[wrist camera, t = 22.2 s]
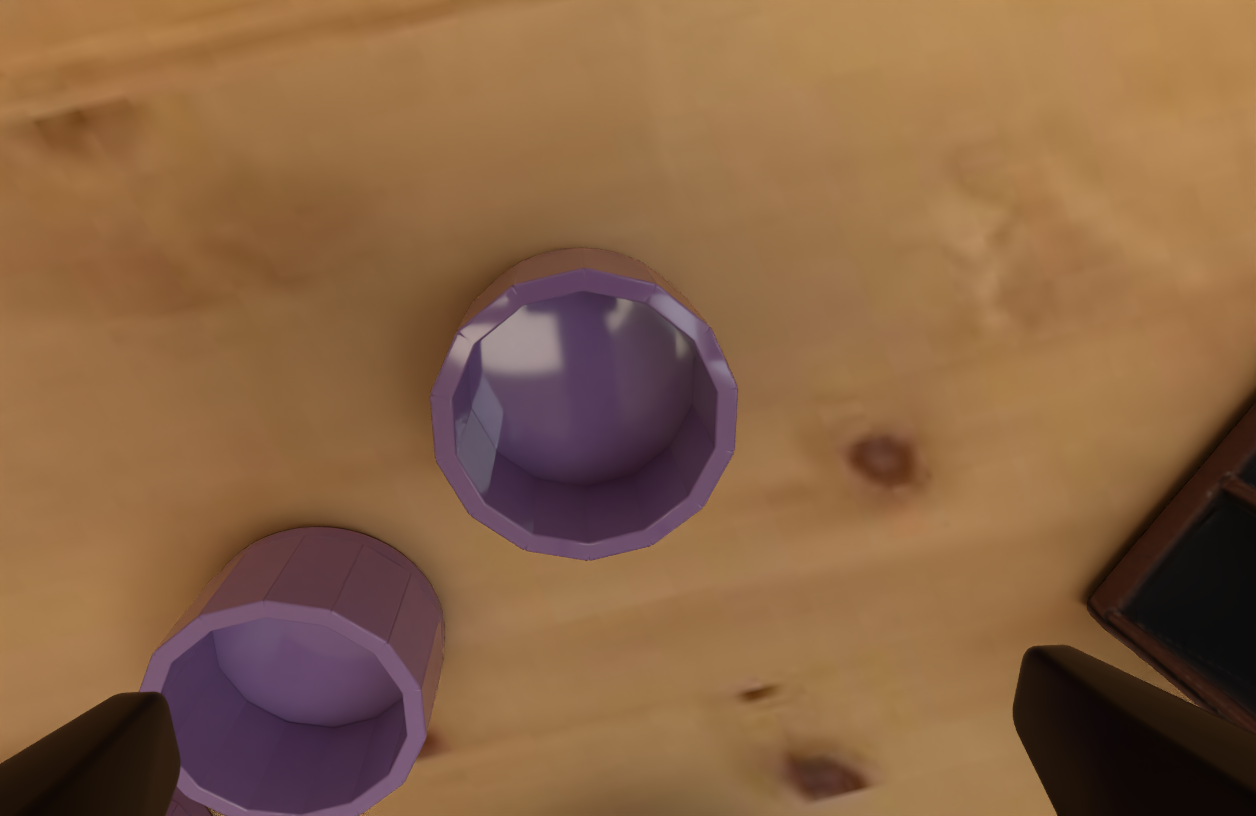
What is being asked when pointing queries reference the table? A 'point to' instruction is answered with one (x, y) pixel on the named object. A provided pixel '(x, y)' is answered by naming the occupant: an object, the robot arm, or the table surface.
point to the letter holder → (1196, 585)
